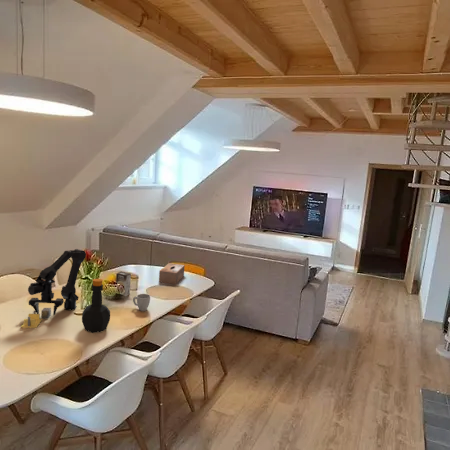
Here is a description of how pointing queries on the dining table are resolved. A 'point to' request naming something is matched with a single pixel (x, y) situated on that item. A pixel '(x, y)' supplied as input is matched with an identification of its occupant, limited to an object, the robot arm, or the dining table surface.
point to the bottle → (96, 311)
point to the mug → (142, 301)
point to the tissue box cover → (171, 273)
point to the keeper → (32, 321)
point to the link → (46, 313)
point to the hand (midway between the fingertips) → (46, 314)
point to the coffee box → (124, 281)
